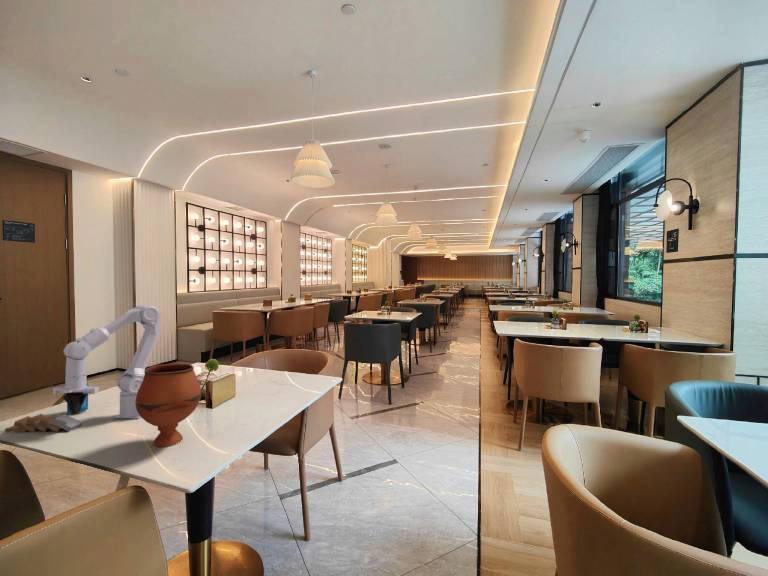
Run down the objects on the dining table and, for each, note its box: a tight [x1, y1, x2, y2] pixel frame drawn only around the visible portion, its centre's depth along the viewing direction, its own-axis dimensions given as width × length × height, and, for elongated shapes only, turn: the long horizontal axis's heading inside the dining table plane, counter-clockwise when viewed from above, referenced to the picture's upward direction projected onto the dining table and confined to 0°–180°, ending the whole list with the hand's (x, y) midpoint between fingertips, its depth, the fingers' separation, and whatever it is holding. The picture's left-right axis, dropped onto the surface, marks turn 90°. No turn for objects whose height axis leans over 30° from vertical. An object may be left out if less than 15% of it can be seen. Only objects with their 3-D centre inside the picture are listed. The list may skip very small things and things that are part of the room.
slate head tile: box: [51, 414, 83, 432], centre depth 129 cm, size 2×5×7 cm
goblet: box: [135, 363, 202, 448], centre depth 120 cm, size 19×19×25 cm
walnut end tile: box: [4, 425, 29, 433], centre depth 128 cm, size 2×5×7 cm
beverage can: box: [66, 380, 89, 415], centre depth 145 cm, size 6×6×12 cm
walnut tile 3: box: [26, 413, 51, 432], centre depth 128 cm, size 2×5×7 cm
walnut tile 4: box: [13, 416, 40, 433], centre depth 128 cm, size 2×5×7 cm
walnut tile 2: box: [39, 414, 64, 433], centre depth 128 cm, size 2×5×7 cm
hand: (75, 413), depth 129 cm, fingers closed
